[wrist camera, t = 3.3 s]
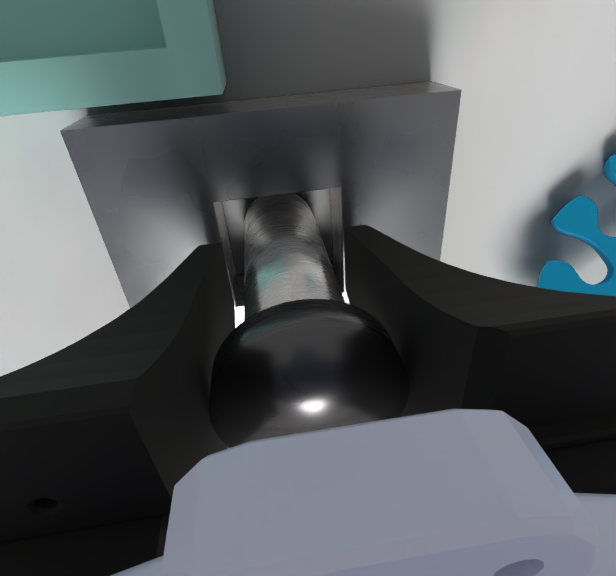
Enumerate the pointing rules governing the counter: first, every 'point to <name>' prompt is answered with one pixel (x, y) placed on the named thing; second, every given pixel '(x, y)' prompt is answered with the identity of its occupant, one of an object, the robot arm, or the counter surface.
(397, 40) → the counter surface
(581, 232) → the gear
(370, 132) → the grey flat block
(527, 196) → the counter surface
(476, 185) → the counter surface
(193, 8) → the tray
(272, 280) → the pin
